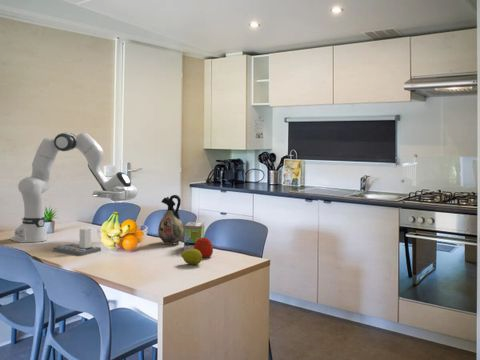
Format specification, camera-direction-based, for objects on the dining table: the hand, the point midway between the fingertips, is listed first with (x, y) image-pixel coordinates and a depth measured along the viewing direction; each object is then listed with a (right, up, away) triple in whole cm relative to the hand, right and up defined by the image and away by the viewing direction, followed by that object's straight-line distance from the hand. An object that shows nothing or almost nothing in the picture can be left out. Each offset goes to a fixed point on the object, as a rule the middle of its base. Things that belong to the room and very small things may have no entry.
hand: (99, 195), depth 260 cm
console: (-9, -30, -11) cm, 33 cm away
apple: (+61, -32, -18) cm, 71 cm away
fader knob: (-3, -28, -14) cm, 32 cm away
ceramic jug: (+39, -30, +15) cm, 52 cm away
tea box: (+54, -31, +1) cm, 63 cm away
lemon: (+57, -33, -37) cm, 75 cm away
